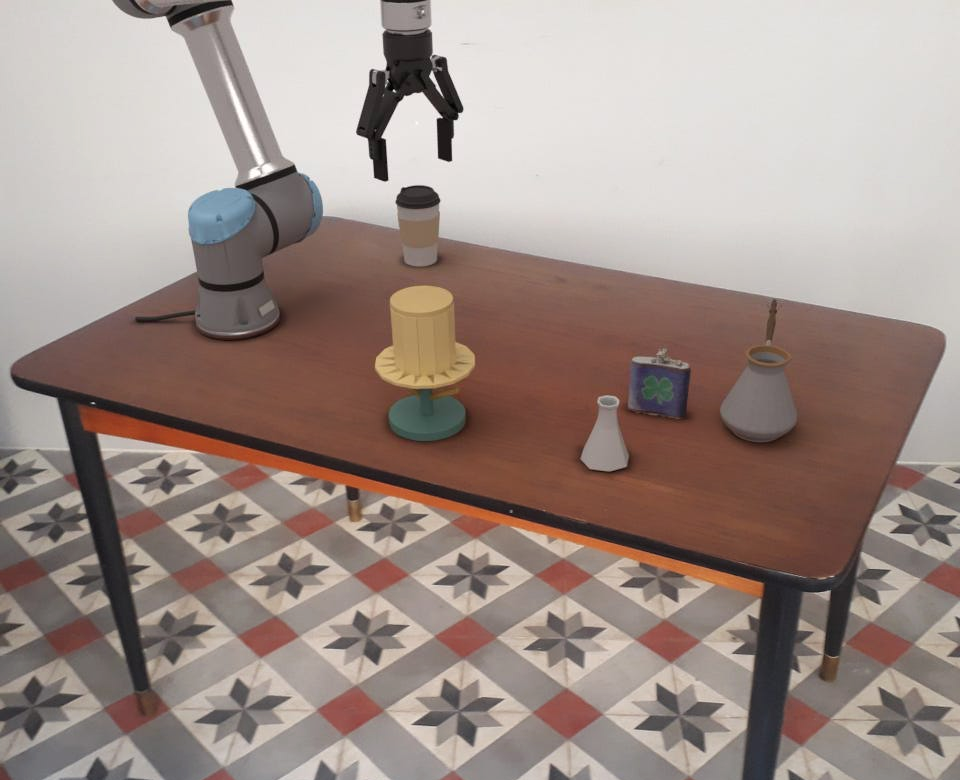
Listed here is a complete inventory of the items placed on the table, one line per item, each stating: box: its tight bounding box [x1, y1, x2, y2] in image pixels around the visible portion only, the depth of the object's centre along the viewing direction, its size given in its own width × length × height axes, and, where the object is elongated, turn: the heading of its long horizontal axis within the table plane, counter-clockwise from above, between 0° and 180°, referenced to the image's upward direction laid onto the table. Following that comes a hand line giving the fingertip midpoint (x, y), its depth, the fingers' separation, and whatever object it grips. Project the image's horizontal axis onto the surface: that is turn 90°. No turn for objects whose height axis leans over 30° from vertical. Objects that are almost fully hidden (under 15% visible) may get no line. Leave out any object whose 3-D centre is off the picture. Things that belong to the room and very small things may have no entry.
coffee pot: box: [719, 299, 798, 443], centre depth 160 cm, size 21×12×15 cm, turn 164°
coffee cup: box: [395, 184, 442, 267], centre depth 212 cm, size 9×9×15 cm
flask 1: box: [580, 394, 630, 472], centre depth 151 cm, size 7×7×10 cm
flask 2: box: [627, 348, 692, 420], centre depth 162 cm, size 9×3×11 cm, turn 71°
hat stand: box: [388, 386, 467, 442], centre depth 158 cm, size 12×12×20 cm
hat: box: [374, 285, 476, 390], centre depth 155 cm, size 15×15×11 cm
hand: (413, 169), depth 169 cm, fingers open, 13 cm apart
